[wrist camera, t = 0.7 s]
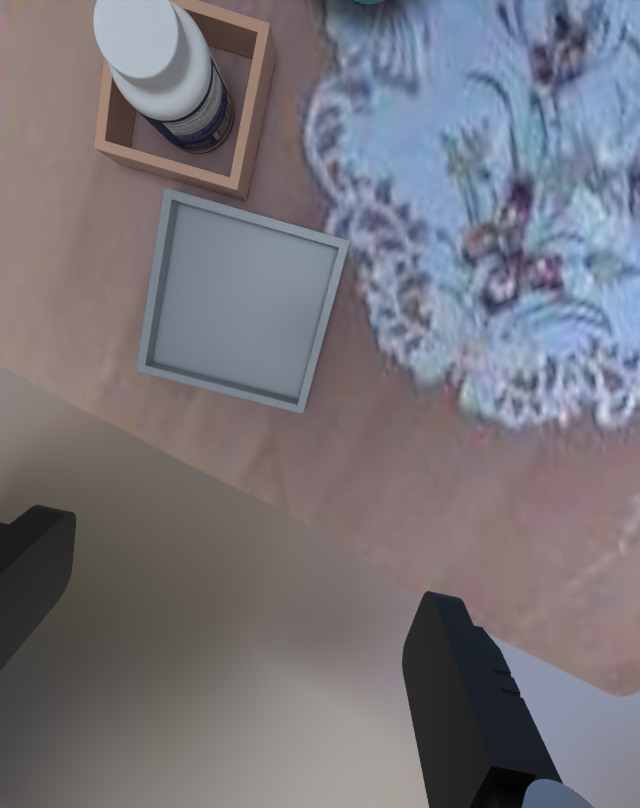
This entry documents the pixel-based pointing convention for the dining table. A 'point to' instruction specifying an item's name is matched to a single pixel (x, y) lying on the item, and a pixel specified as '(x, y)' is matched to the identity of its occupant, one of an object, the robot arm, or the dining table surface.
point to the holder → (258, 45)
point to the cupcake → (368, 1)
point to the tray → (238, 301)
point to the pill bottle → (165, 70)
